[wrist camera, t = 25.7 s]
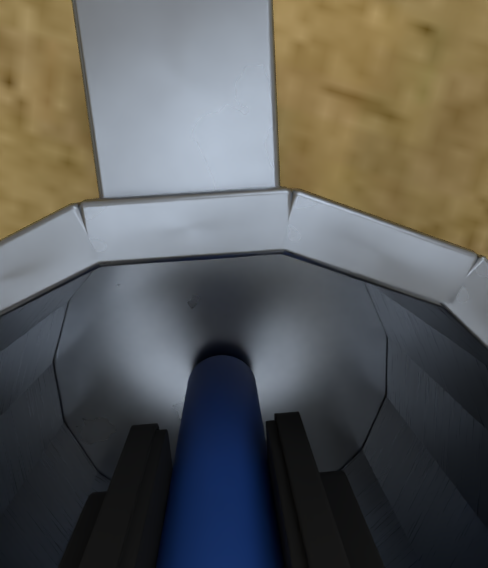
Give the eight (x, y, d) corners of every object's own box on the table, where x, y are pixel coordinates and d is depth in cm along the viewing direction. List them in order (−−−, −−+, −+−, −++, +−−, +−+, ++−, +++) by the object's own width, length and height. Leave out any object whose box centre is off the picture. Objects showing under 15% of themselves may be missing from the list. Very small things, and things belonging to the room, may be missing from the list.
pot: (411, 80, 13) (768, -113, 4) (397, 566, 17) (562, 932, 9) (-14, 105, 12) (-507, -55, 4) (81, 595, 16) (-62, 1009, 8)
